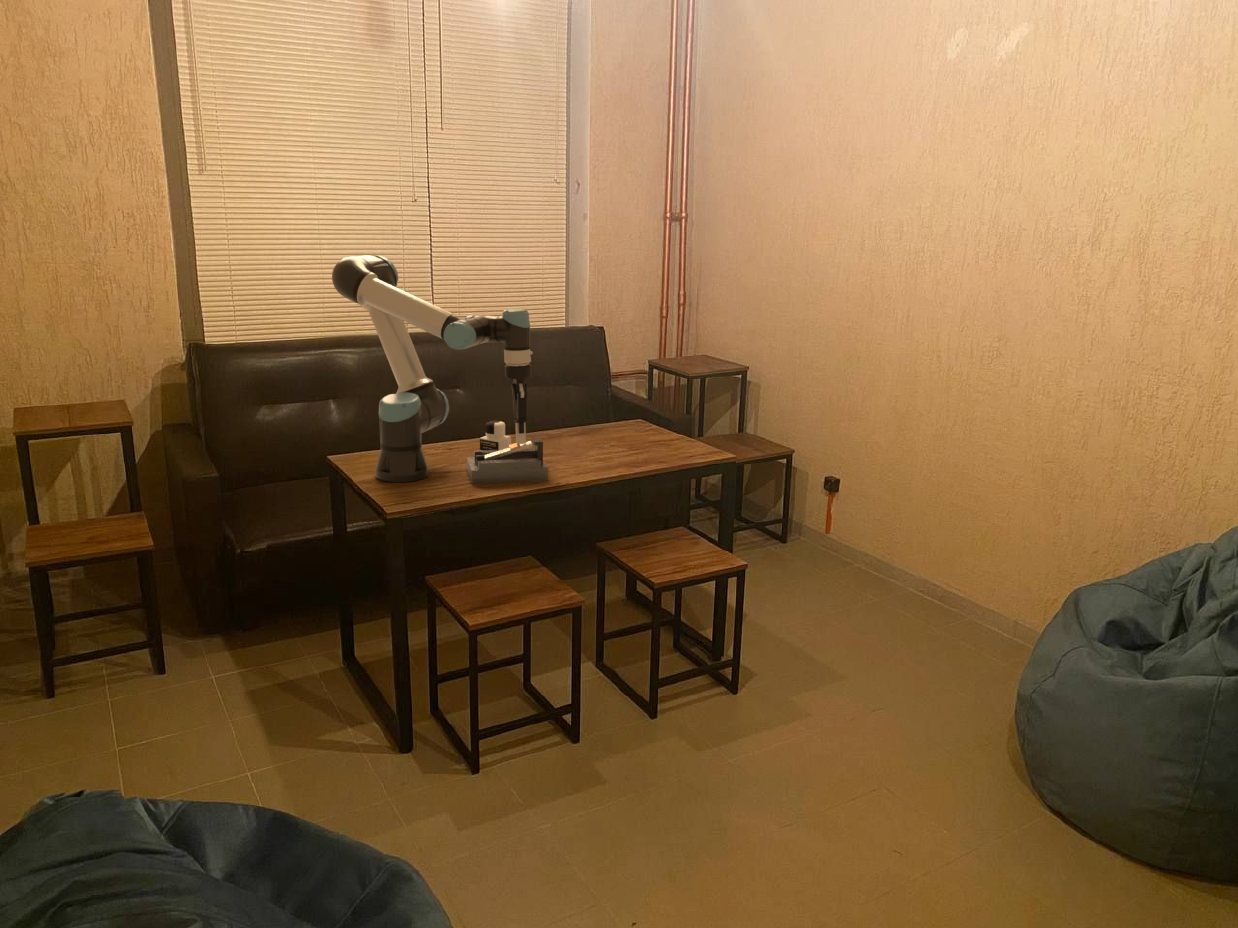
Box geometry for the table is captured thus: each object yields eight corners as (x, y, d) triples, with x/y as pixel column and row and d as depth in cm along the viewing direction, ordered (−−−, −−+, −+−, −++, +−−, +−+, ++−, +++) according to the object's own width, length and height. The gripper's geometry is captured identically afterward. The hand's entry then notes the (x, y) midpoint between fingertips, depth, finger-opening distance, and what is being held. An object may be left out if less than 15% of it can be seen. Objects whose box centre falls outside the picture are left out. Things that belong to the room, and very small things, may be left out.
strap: (478, 465, 260) (476, 459, 260) (477, 461, 264) (475, 455, 263) (533, 447, 263) (531, 441, 262) (531, 444, 267) (529, 438, 266)
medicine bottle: (479, 459, 280) (479, 422, 277) (492, 454, 286) (492, 418, 283) (498, 463, 277) (498, 425, 274) (511, 458, 283) (511, 421, 280)
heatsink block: (472, 484, 256) (471, 448, 253) (467, 470, 269) (466, 436, 266) (547, 480, 262) (548, 445, 259) (539, 466, 275) (539, 433, 272)
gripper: (534, 366, 252) (537, 447, 258) (527, 359, 264) (530, 436, 271) (508, 368, 250) (511, 449, 257) (501, 360, 262) (505, 438, 269)
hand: (521, 443), depth 264 cm, fingers closed
